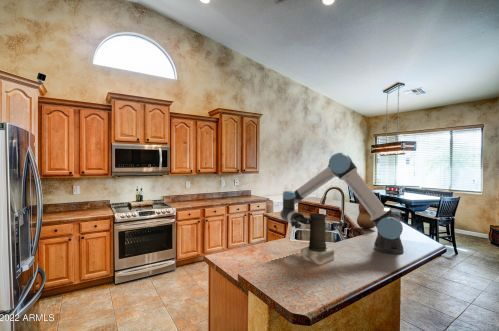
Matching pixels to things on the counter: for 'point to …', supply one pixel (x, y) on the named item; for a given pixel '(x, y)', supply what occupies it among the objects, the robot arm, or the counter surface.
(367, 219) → the butternut squash
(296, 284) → the counter surface
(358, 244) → the counter surface
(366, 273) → the counter surface
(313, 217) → the container
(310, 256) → the stand
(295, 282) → the counter surface
